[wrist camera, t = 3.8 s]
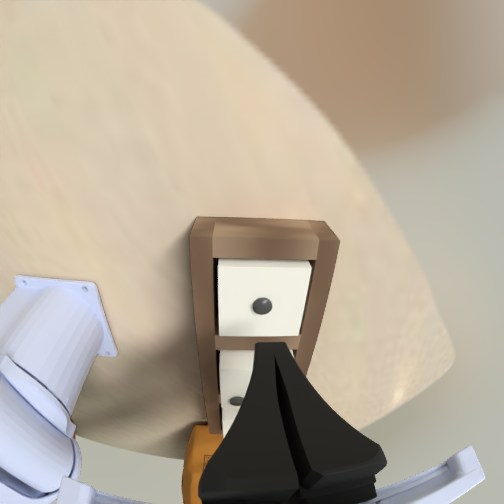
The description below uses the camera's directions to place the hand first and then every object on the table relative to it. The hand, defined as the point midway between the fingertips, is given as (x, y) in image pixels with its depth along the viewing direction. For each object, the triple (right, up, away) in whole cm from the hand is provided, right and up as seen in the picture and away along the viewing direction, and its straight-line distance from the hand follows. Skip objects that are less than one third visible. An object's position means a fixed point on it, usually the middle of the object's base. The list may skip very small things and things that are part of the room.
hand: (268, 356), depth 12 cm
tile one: (0, +3, +6) cm, 7 cm away
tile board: (-1, -3, +10) cm, 10 cm away
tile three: (-1, -4, +8) cm, 9 cm away
